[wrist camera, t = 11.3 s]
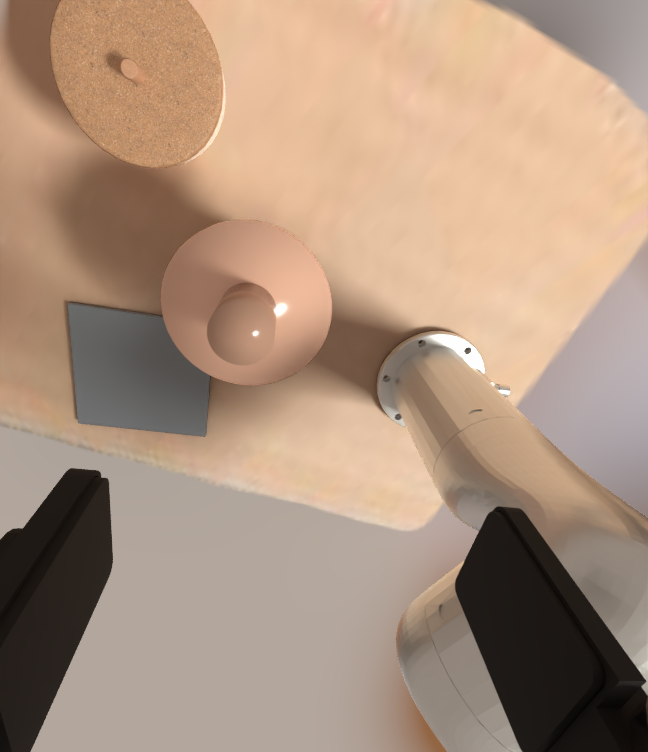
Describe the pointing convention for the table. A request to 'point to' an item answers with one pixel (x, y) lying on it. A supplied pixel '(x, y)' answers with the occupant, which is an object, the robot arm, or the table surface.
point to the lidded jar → (139, 77)
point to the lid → (246, 302)
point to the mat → (134, 373)
